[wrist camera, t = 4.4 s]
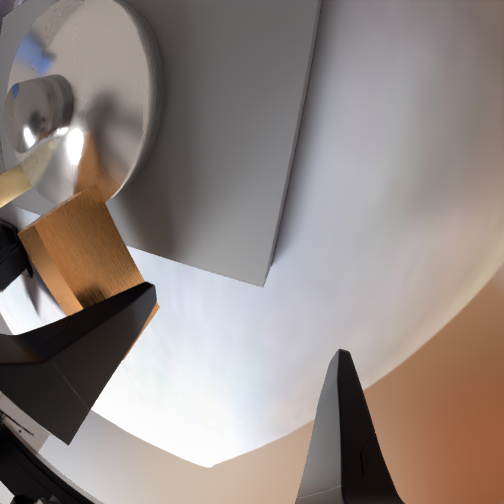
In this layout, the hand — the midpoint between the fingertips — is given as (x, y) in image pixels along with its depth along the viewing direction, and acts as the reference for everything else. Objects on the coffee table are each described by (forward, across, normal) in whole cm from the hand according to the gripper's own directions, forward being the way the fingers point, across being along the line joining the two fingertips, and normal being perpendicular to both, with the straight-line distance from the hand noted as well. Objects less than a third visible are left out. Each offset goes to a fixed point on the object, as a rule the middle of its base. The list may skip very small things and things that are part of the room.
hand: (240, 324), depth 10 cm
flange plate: (+2, +9, -5) cm, 10 cm away
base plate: (+4, +10, -7) cm, 13 cm away
